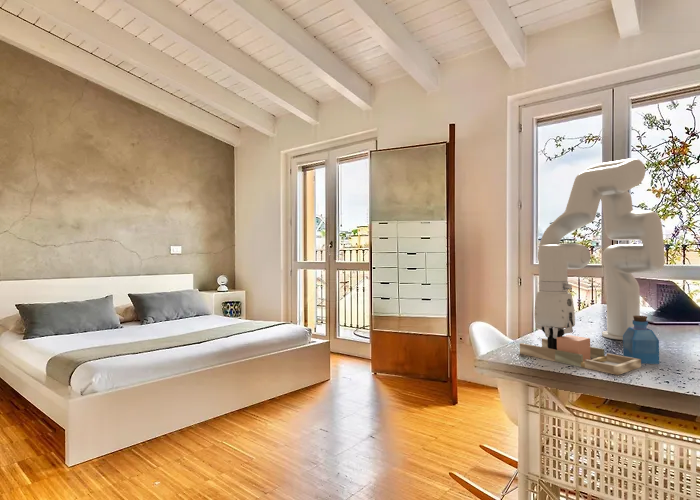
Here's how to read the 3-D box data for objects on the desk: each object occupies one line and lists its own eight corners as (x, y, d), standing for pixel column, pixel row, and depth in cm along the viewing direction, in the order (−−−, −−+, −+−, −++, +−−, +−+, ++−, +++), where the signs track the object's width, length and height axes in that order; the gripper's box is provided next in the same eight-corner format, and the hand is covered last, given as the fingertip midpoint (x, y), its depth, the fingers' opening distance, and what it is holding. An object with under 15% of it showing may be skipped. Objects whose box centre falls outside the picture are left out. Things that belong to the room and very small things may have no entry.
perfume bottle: (659, 364, 114) (658, 318, 114) (633, 363, 115) (632, 318, 115) (648, 358, 120) (647, 314, 120) (623, 357, 121) (622, 314, 121)
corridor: (543, 348, 133) (543, 338, 133) (641, 367, 111) (640, 355, 111) (519, 353, 127) (519, 343, 127) (618, 375, 104) (617, 362, 104)
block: (569, 356, 123) (568, 334, 123) (590, 360, 118) (590, 338, 118) (557, 359, 120) (556, 337, 120) (578, 363, 115) (578, 341, 115)
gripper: (586, 288, 120) (587, 354, 120) (537, 285, 132) (538, 345, 132) (571, 290, 116) (572, 358, 116) (522, 286, 128) (523, 348, 128)
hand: (554, 351), depth 124 cm, fingers closed
